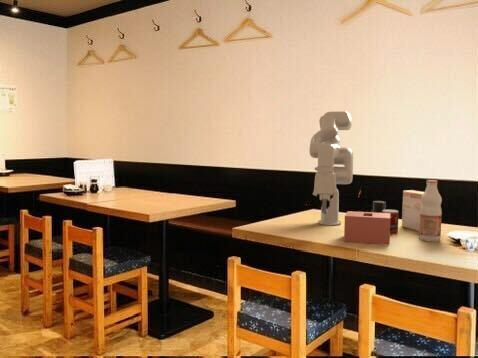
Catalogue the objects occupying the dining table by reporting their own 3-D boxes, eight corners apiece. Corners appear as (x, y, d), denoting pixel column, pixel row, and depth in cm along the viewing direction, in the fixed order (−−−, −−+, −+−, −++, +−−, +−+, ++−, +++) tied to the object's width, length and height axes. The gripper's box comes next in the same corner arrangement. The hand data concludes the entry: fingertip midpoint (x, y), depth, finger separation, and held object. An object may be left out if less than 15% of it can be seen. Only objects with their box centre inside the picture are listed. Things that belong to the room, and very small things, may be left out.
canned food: (390, 234, 240) (390, 212, 238) (378, 231, 247) (379, 210, 246) (401, 232, 243) (402, 211, 242) (389, 230, 250) (390, 209, 249)
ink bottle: (380, 225, 263) (381, 203, 262) (366, 222, 270) (367, 201, 269) (390, 223, 269) (391, 201, 268) (377, 220, 276) (377, 200, 275)
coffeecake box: (431, 230, 248) (432, 193, 246) (419, 231, 246) (421, 193, 244) (412, 225, 262) (413, 189, 261) (401, 226, 260) (402, 190, 258)
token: (323, 213, 234) (323, 201, 235) (327, 213, 233) (328, 201, 235) (321, 211, 228) (322, 198, 230) (325, 211, 228) (326, 198, 229)
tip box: (346, 235, 237) (347, 211, 235) (389, 238, 231) (390, 213, 229) (344, 241, 223) (344, 215, 222) (389, 244, 217) (390, 218, 216)
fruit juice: (414, 237, 232) (417, 179, 229) (432, 236, 234) (434, 179, 231) (426, 242, 222) (429, 181, 220) (444, 241, 225) (447, 181, 222)
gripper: (307, 170, 229) (307, 208, 231) (341, 171, 224) (340, 210, 226) (310, 168, 236) (309, 206, 238) (343, 169, 231) (342, 207, 233)
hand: (325, 207), depth 232 cm, fingers closed on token, 1 cm apart
